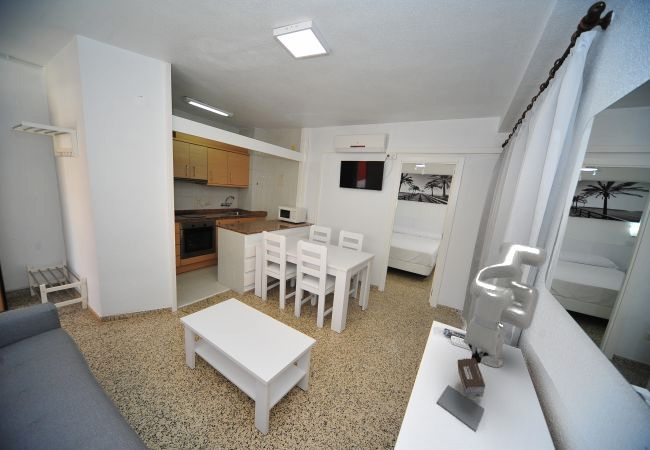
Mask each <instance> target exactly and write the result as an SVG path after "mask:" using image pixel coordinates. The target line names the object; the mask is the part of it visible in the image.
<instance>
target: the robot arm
mask: <svg viewBox="0 0 650 450" xmlns="http://www.w3.org/2000/svg"><path fill="white" fill-rule="evenodd" d="M498 251H499V252H498V257H497V259H496V261H495V263H494V264H491V265H487V266H486V267H484V268H482V269H480V270H479V271H478V272H477V273H476V275H474V278H473V280H472V282H471V285H470V287H469V288H470V289H469V292H470V294H471V295H472V296H473V297H474V298H476V299H477V303H476V308H475V313H474V316H473V317H471V320H470V322H469V324H468V326H467V329H466V332H465V336H464V339H463V341H462V342H463V343H464V344H465V345H467V346H468V347H469V349H470V351H471V356H470V359H471V358H475V359H476V361H477V364H478V365H479V364H481V363H482V364H484V365H485V366H489V367H492V368H501V367H502V366H503V359H502V358H501V354H502V351H503V346H504V345H505V344H504V343H505V340H506V336H507V326H506V324H508V325H510V326H513V327H515V328H517V329H521V330H528V329H529V328H530V327H531V326H532V324H533V319H534V317H535V313H536V310H537V305H538V303H539V302H538V301H539V297H540V295H539V294H540V293H539V290H538V288H537V287H536V286H533V285H530V284H529V283H528V284H527V283H525V282H521V280H522V277H523V275H524V274H523V270H522V266H523V265H525V266H526V265H527V266H530V267H534V268H541V267H542V266H543V265H545V263H546V261H547V258H548V252H547V250H546V249H545V248H542V247H538V246H533V245H528V244H527V245H526V244H523V243H518V242H517V243H516V242H512V241H511V242H510V241H505V242H502V243H501V244H500V246H499V249H498ZM491 279H496V282H495V284H493V283H490V282H488V281H486V280H491ZM516 303H517V304H516ZM518 304H520V305H518ZM505 323H506V324H505Z"/></svg>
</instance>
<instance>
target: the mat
mask: <svg viewBox="0 0 650 450" xmlns="http://www.w3.org/2000/svg"><path fill="white" fill-rule="evenodd" d="M436 404H437V405H438V406H440V407H441V408H442V409H444V410H445V411H446V412H448V413H449V414H450V415H452V416H453V417H454V418H456V419H457V420H459V421H460V422H462V424H464V425H465V426H467V427H468V428H470V430H472V431H473V432H475V433H476V432H477V428H478V426H479V424H480V422H481V419H482V417H483V415H484V412H485V407H483V406H482V405H480V404H478V403H477V402H475V401H474V400H473V399H470V397H466V395H465V394H463V393H462V392H460V391H458V390H457V389H455V388H454V387H453V386H452V385H449V384H448V385H447V386H446V387H445V389H444V390H443V392H442V393H441V395H440V397H439V398H438V399H437V401H436Z"/></svg>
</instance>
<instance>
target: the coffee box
mask: <svg viewBox="0 0 650 450" xmlns="http://www.w3.org/2000/svg"><path fill="white" fill-rule="evenodd" d="M457 370H458V376H459V378H460V382H461V385H462V389H463V393H464V395H465V396H466V397H468V398H471V397H473V398H475V397H476V398H478V397H479V398H480V397H481V398H482V397H483V396H484V393H485V390H486V383H485V380H484V378H483V376H482V372H481V369H480V367H479V363H478V364H477V361H476V359H475V358H471V357H470V358H462V359H461V358H460V359H457Z"/></svg>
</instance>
